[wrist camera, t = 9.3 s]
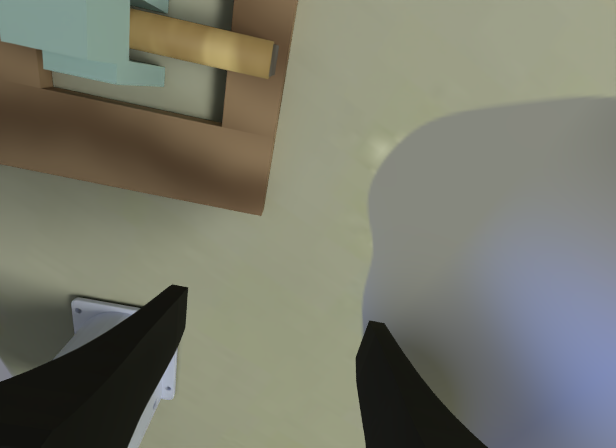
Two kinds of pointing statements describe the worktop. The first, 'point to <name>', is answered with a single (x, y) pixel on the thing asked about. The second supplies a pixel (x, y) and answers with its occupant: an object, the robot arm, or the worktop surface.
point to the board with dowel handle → (159, 113)
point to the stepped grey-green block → (81, 37)
